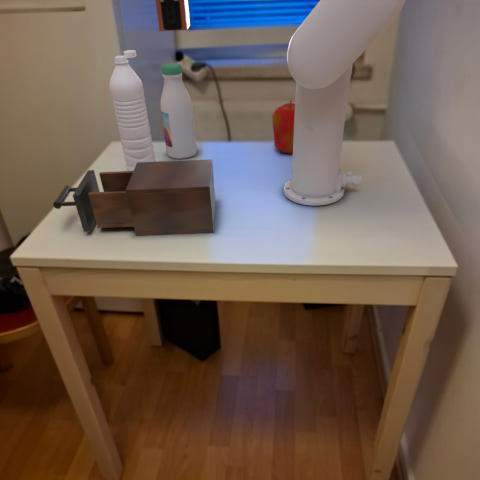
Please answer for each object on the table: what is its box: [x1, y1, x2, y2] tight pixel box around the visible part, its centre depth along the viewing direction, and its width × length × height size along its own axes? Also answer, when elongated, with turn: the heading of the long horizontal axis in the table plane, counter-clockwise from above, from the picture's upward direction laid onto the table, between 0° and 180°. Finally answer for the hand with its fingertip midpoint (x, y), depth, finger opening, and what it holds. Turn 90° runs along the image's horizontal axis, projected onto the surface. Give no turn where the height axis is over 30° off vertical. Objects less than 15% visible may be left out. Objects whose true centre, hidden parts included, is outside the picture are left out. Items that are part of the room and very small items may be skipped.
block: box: [155, 0, 191, 32], centre depth 78 cm, size 5×5×5 cm
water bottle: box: [108, 49, 157, 171], centre depth 92 cm, size 9×6×25 cm
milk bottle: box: [159, 62, 198, 160], centre depth 104 cm, size 8×8×20 cm
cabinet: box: [126, 159, 216, 237], centre depth 83 cm, size 15×12×9 cm
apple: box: [271, 99, 295, 155], centre depth 106 cm, size 9×8×12 cm
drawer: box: [52, 169, 134, 233], centre depth 83 cm, size 18×11×7 cm, turn 91°
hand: (175, 25), depth 79 cm, fingers closed on block, 5 cm apart
